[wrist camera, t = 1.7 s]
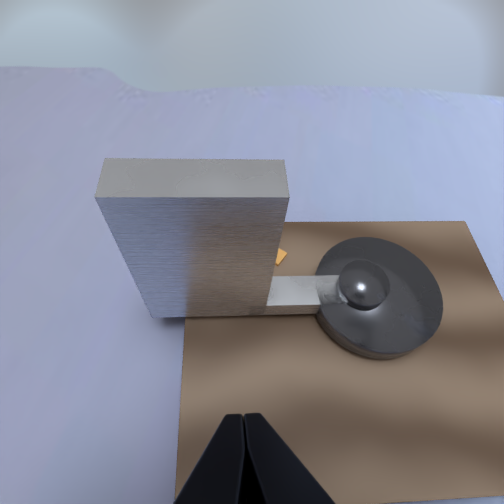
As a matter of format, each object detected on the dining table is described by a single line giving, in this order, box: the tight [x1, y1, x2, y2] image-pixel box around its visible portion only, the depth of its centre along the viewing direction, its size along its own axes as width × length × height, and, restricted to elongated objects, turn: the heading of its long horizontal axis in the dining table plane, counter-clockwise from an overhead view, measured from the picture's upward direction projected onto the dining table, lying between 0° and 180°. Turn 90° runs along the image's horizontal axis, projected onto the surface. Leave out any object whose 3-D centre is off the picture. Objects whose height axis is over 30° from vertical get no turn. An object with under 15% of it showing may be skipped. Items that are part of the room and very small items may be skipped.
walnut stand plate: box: [175, 221, 504, 504], centre depth 23 cm, size 18×22×2 cm
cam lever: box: [95, 158, 443, 360], centre depth 18 cm, size 18×8×11 cm, turn 93°
